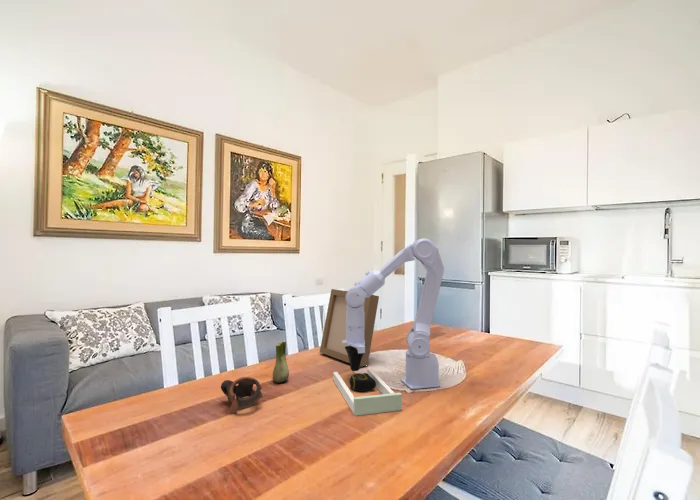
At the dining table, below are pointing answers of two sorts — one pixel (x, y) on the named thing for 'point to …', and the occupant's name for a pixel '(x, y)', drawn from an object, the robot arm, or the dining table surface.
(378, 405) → the bay
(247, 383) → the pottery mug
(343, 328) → the photo frame
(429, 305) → the robot arm
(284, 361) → the fennel bulb
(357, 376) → the tape measure
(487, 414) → the dining table surface
